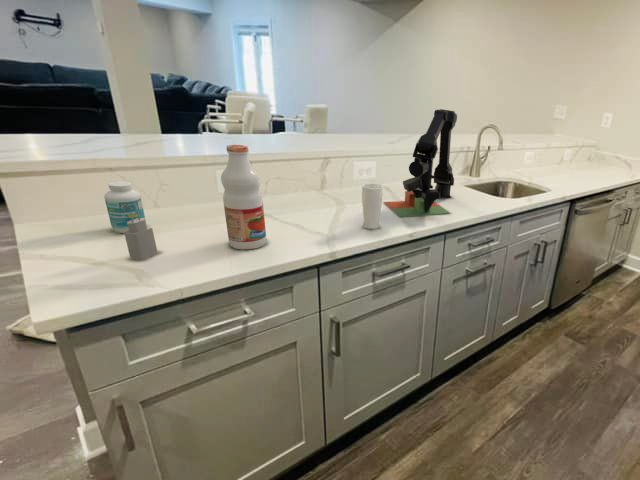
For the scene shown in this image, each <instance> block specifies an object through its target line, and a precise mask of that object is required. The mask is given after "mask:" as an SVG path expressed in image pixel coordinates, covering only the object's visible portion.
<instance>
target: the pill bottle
mask: <svg viewBox="0 0 640 480" xmlns="http://www.w3.org/2000/svg"><path fill="white" fill-rule="evenodd" d="M107 185H108V189H109V191H106V193H105V194H104V201H105V205H106V211H107V214H108V219H109V222H110V226H111V230H112V231H113V232H115V233H119V234H124V232H126V231H128V230H129V228H128V224H127V222H128V221H131V215H130V213H132V217H133V220H134V219H137V218H138V214H137V210H138V212H139V216H140V218H145V221H146V220H147V219H146V217H145V211H144V205H143V202H142V197H141V194H140V192H138V191H137V190H135V189H133V186H132V183H131V182H130V181H112V182H109V183H108V184H107ZM146 222H147V221H146Z"/></svg>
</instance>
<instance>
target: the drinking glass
mask: <svg viewBox="0 0 640 480" xmlns="http://www.w3.org/2000/svg"><path fill="white" fill-rule="evenodd" d="M361 204H362V205H361V206H362V217H363V227H364V228H365V229H367V230H377V229H379V228H380V219H381V212H382V204H383V185H380V184H377V183H364V184H362V185H361Z"/></svg>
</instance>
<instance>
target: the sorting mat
mask: <svg viewBox="0 0 640 480" xmlns="http://www.w3.org/2000/svg"><path fill="white" fill-rule="evenodd" d="M384 204H385V205H386V206H387V207H388V208H389V209H391V210H392V211H393V212H394V213H395V214H396V215H397V216H398V217H399V218H406V217H421V216H434V215H449V214H451V213H450V212H449V211H448V210H447V209H445V208H444V207H443V206H441V205H439V204H438V203H437V202H435V201H434V203H433V204H432V206H431V207H430V213H418V212H417V211H415V210H414V206H409V205H408V204H406V203H405V200H400V201H399V200H398V201H384Z"/></svg>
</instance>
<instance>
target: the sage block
mask: <svg viewBox="0 0 640 480" xmlns="http://www.w3.org/2000/svg"><path fill="white" fill-rule="evenodd" d="M414 210H415V211H417V212H418V213H425V210H424V200H423V199H422V198H415V204H414ZM427 213H430V209H429V211H428V212H427Z"/></svg>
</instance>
